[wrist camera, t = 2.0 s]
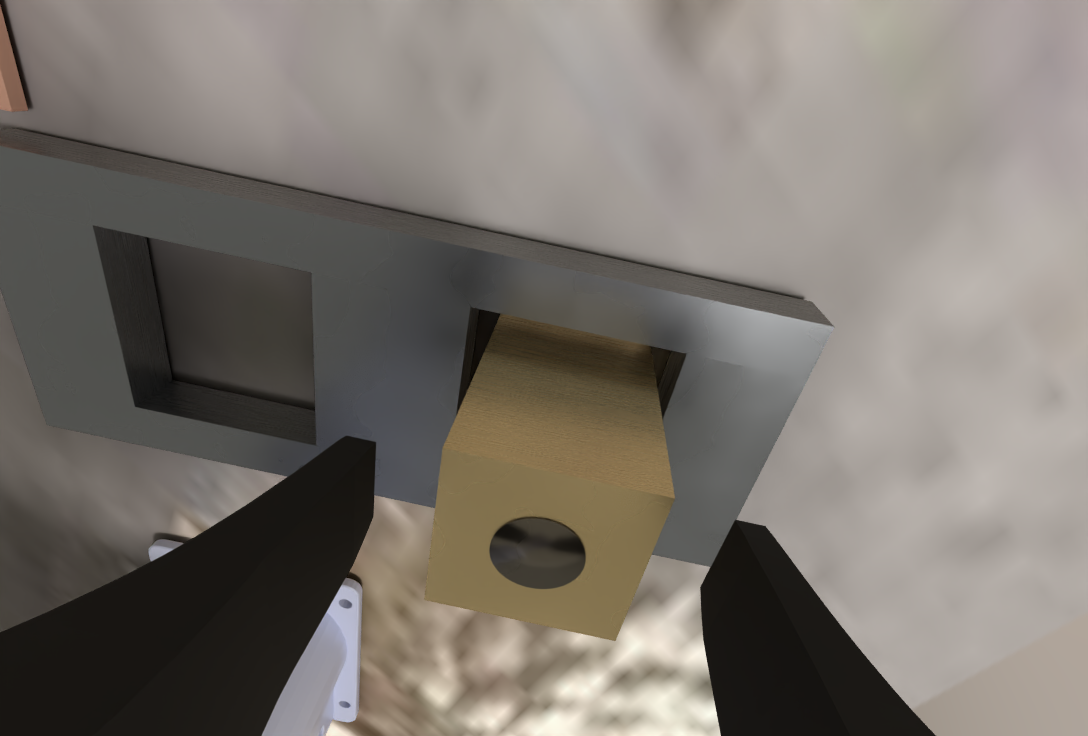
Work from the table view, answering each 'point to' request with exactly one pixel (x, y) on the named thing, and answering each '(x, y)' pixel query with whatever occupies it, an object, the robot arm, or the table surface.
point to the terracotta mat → (9, 75)
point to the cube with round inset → (552, 480)
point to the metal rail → (369, 326)
